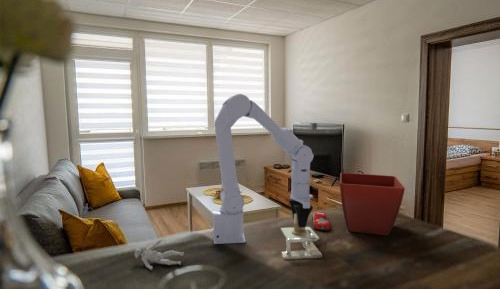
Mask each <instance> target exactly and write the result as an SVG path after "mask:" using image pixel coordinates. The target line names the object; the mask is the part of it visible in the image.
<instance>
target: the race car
mask: <svg viewBox="0 0 500 289" xmlns="http://www.w3.org/2000/svg"><path fill="white" fill-rule="evenodd" d="M312 213H313V214H312V216H311V217H312V219H311V221H312V225H313V229H314V230H318V231H329V230H330V229H331V228H330V227H331V226H330V221H329V220H330V218H328V215H327V214H326V212H323V211H314V212H312Z"/></svg>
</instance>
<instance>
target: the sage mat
mask: <svg viewBox="0 0 500 289" xmlns="http://www.w3.org/2000/svg"><path fill="white" fill-rule="evenodd" d="M293 228H294V226H293V227H292V226H291V227H290V226H289V227H280V231H281V232H282V234H283V236H284V237H285V239H286V240H287V239H294V238H306V235H304V236H297V235H294V234H292V229H293ZM305 229H306V230H310V231H311V232H312V233H313V234H314V236H315V237H316V238H317V241H318V240H320V237H319V236H318V234H317V233H315V231H314V230H313V229H312V228H311V227H310V226H306V227H305Z"/></svg>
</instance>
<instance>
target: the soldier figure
mask: <svg viewBox="0 0 500 289" xmlns="http://www.w3.org/2000/svg"><path fill="white" fill-rule="evenodd" d="M161 243H162V239H160V240H157V242H156V243H155V244H153V245H151V246H147V247H146V248H145V249H144V250H142V249H140V248H136V249H135V251H134V257H135V259H138V257H140V256H141V261H142V262H143V264H144V265H145V267H146V268H147V269H149V270H151V271H152V270H153V265H151V264H150V263H149V262H151V263H156V264H159V265H166V266H167V265H168V266H171V265H178V264H179V266H180V265H181V263H182V261H179V260H178V261H174V260H171V259H168V257H170V256H181V257H184V255H185V252H184V251H182V252H180V251H175V250H173V249H172V250H168V251H167V250H166V251H165V252H159V251H158V250H155V249H156V248H157V247H158V245H160V244H161Z"/></svg>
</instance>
